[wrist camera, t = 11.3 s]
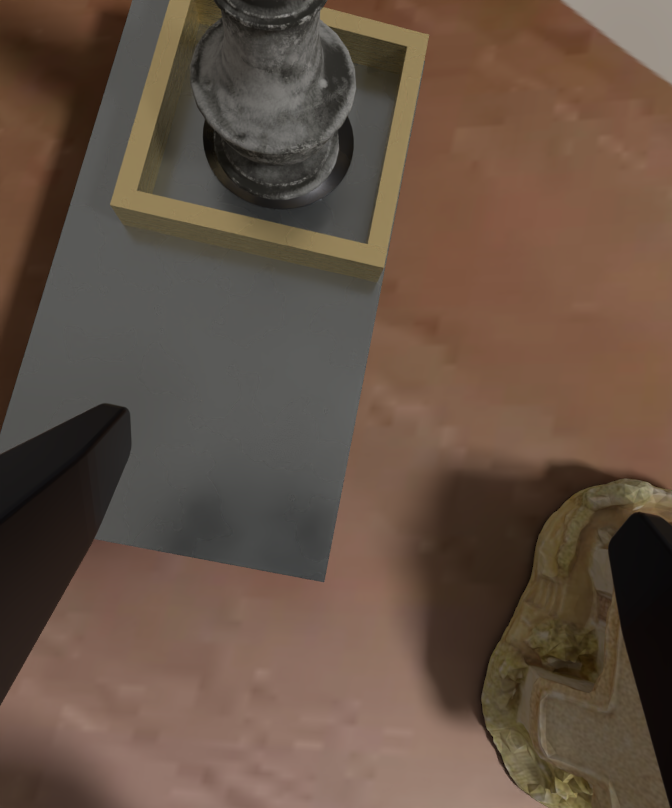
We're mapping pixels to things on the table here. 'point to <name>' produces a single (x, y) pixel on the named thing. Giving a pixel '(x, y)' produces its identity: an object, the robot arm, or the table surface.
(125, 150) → the grey slab
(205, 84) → the grey tiered ornament
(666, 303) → the table surface
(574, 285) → the table surface
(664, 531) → the robot arm
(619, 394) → the table surface
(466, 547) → the table surface
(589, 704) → the ceramic model
